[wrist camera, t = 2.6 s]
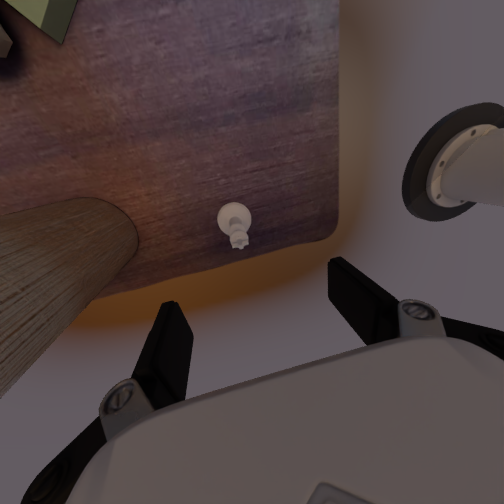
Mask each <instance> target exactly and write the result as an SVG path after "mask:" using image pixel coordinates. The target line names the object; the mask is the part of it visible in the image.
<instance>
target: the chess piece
mask: <svg viewBox="0 0 504 504" xmlns="http://www.w3.org/2000/svg"><path fill="white" fill-rule="evenodd" d="M217 221H218V225H219V227H220V229H221V230H222V231H223V232H224V233H225V234H227V235H229V236H230V242H231V244H232V247H233V248H239V249H243V247H244V246H245V245H249V243H248V235H247V234H246V231H247V230H248V229H249V227H250V225H251V214H250V212H249V210H248V209H247V207H246V206H244V205H243V204H240V203H236V202H232V203H228V204H226V205H224V206H223V207H222V208H221V209H220V211H219V213H218V217H217Z"/></svg>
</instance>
